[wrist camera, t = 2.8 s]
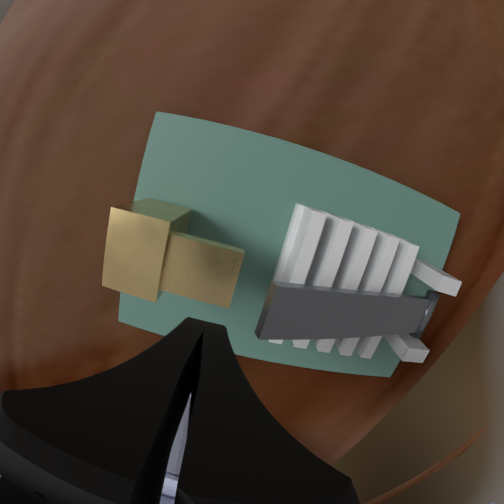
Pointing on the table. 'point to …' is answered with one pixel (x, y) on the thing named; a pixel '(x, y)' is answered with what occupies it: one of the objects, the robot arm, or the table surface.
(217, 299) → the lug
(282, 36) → the table surface
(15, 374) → the table surface
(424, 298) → the strap
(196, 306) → the board
